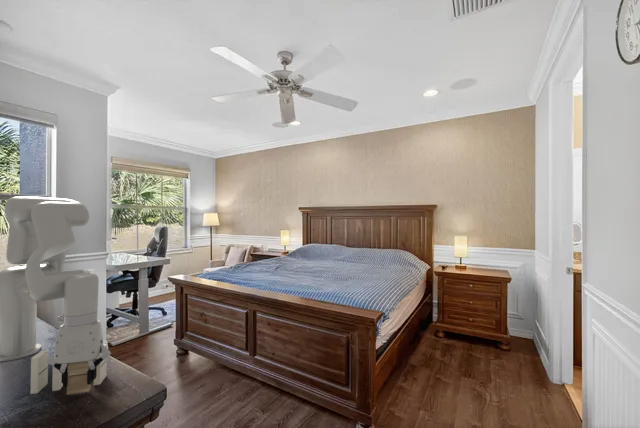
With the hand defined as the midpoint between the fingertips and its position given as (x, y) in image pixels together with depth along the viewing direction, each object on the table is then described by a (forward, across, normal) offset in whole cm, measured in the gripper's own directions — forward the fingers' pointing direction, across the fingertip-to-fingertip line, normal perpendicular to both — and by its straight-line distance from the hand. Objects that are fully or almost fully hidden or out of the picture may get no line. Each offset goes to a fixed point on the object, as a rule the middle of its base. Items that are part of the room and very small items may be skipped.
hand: (79, 382), depth 83 cm
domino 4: (+3, +3, +7) cm, 8 cm away
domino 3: (+2, 0, 0) cm, 2 cm away
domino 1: (+3, -12, +7) cm, 14 cm away
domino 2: (+3, -7, +7) cm, 10 cm away
